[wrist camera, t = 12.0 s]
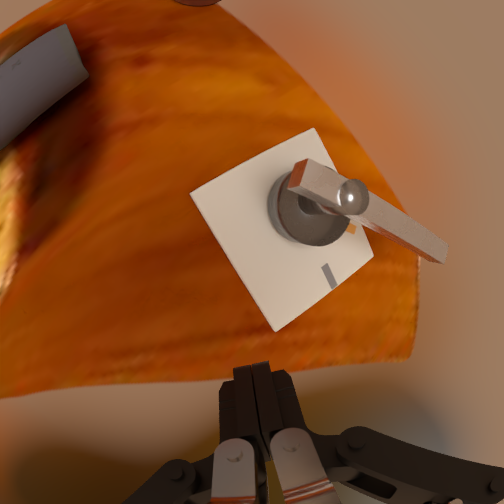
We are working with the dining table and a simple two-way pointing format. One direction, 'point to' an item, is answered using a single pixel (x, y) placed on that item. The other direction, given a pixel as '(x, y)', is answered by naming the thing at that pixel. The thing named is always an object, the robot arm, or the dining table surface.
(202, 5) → the robot arm
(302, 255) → the board
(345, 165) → the dining table surface
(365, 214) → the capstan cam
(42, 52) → the bluetooth speaker
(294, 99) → the dining table surface
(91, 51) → the dining table surface
